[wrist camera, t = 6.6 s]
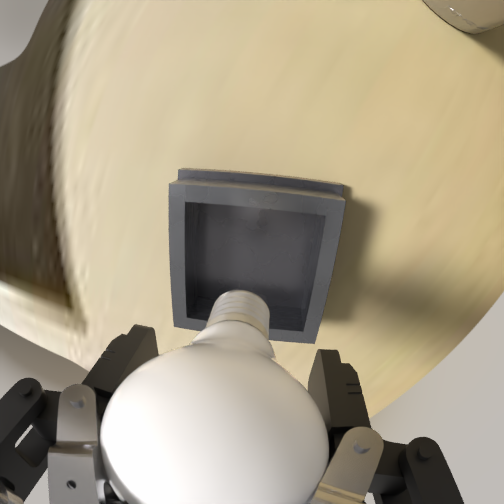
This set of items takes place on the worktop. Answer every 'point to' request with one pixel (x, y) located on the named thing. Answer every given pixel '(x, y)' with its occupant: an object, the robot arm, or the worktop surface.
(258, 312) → the lightbulb
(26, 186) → the worktop surface
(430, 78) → the worktop surface
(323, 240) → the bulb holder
